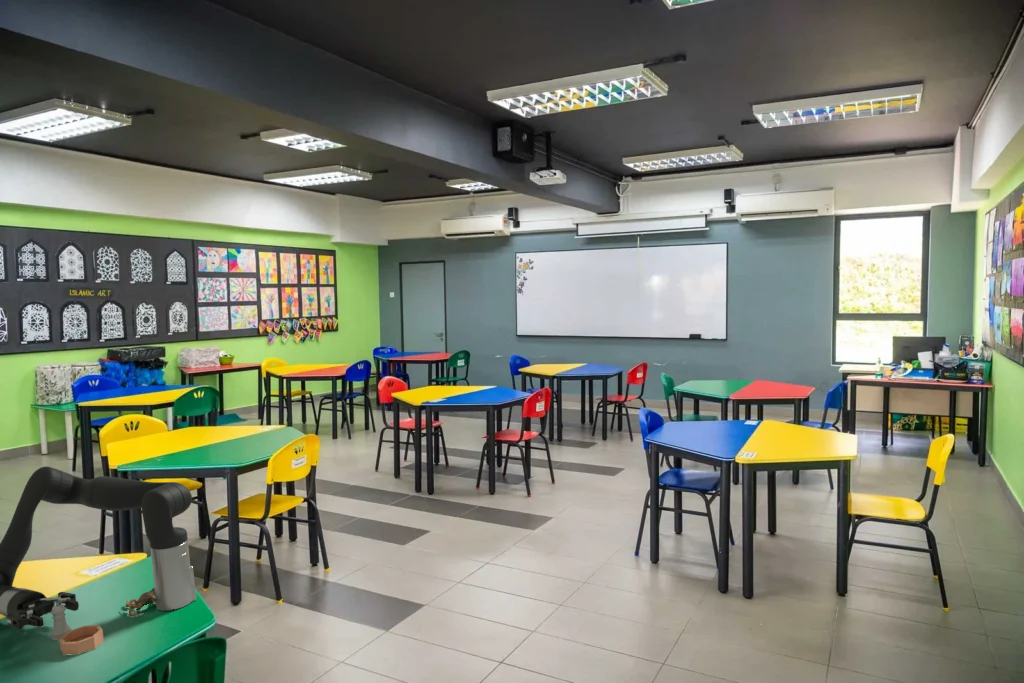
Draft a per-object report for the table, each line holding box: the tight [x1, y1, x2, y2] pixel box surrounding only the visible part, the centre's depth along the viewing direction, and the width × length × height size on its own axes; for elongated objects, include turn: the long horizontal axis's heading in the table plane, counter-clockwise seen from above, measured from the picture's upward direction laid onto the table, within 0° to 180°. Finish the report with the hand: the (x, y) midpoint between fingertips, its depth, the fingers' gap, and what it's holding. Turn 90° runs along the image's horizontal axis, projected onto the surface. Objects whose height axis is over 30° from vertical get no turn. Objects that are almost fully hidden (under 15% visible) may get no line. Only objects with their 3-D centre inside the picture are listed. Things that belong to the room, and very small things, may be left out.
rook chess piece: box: [50, 603, 72, 642], centre depth 169 cm, size 4×4×8 cm
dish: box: [58, 624, 105, 656], centre depth 165 cm, size 8×8×3 cm
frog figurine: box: [125, 587, 156, 618], centre depth 184 cm, size 12×12×4 cm
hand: (59, 614), depth 169 cm, fingers open, 8 cm apart
